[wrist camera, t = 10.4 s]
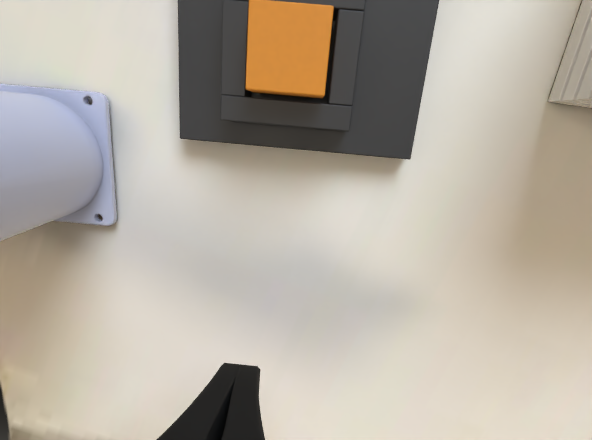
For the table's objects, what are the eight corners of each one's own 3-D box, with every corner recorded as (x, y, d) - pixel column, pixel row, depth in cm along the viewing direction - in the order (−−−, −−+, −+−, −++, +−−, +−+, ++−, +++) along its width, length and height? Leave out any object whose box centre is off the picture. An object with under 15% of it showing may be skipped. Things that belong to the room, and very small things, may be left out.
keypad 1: (187, 137, 20) (166, 140, 17) (185, -40, 18) (161, -71, 15) (404, 157, 20) (420, 163, 17) (435, -20, 17) (460, -47, 14)
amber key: (251, 92, 17) (244, 89, 15) (255, 11, 16) (248, -2, 14) (323, 98, 17) (324, 96, 15) (331, 17, 16) (334, 5, 14)
